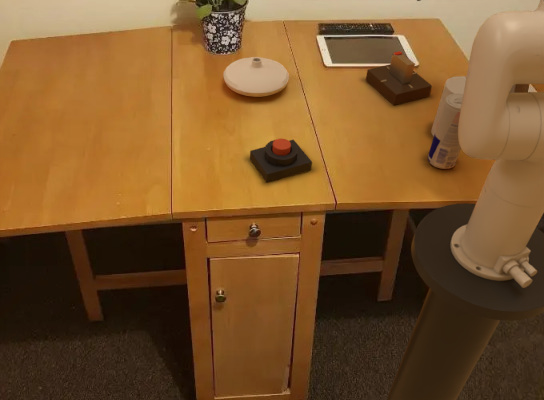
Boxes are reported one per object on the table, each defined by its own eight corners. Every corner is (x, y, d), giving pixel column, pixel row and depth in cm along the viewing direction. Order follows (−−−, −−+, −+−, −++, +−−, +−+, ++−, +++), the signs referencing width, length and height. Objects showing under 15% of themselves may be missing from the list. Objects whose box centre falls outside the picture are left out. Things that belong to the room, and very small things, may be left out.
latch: (410, 82, 136) (415, 62, 133) (403, 84, 136) (408, 64, 132) (395, 70, 140) (400, 50, 137) (388, 71, 140) (392, 52, 136)
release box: (292, 147, 123) (294, 132, 120) (311, 170, 118) (313, 154, 115) (249, 159, 120) (250, 143, 118) (266, 182, 115) (267, 167, 112)
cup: (465, 149, 123) (482, 101, 114) (426, 138, 126) (441, 90, 117) (473, 129, 128) (490, 82, 120) (436, 119, 131) (451, 72, 123)
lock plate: (429, 96, 138) (432, 84, 135) (393, 105, 135) (396, 94, 132) (399, 71, 146) (402, 60, 143) (365, 80, 143) (367, 68, 141)
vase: (280, 67, 147) (282, 41, 142) (294, 101, 136) (297, 75, 131) (219, 71, 146) (219, 45, 141) (228, 106, 134) (228, 80, 129)
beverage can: (460, 162, 120) (482, 100, 109) (446, 174, 117) (467, 112, 107) (436, 149, 123) (455, 88, 112) (421, 161, 120) (440, 100, 109)
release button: (285, 143, 118) (285, 136, 117) (293, 153, 116) (294, 146, 115) (269, 147, 117) (269, 140, 116) (277, 158, 115) (277, 151, 114)
